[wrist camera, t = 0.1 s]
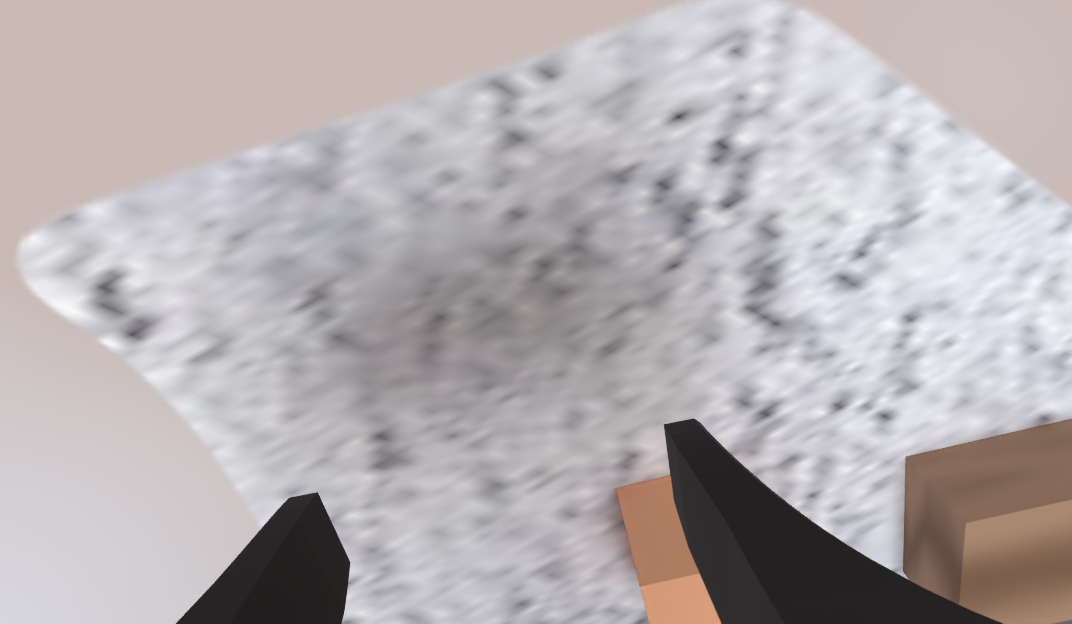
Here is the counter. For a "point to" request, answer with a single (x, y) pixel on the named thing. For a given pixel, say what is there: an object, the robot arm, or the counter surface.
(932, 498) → the walnut block
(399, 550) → the counter surface
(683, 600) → the terracotta block
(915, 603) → the robot arm
